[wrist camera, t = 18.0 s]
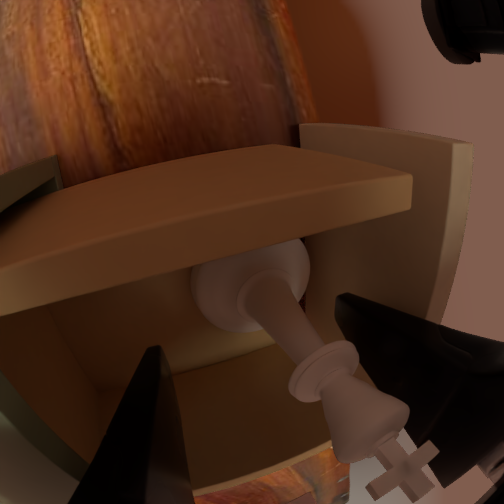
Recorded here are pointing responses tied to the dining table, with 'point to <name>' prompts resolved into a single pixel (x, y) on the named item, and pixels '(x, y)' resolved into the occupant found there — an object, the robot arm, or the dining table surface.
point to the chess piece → (312, 359)
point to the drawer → (213, 248)
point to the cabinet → (15, 407)
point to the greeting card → (304, 499)
